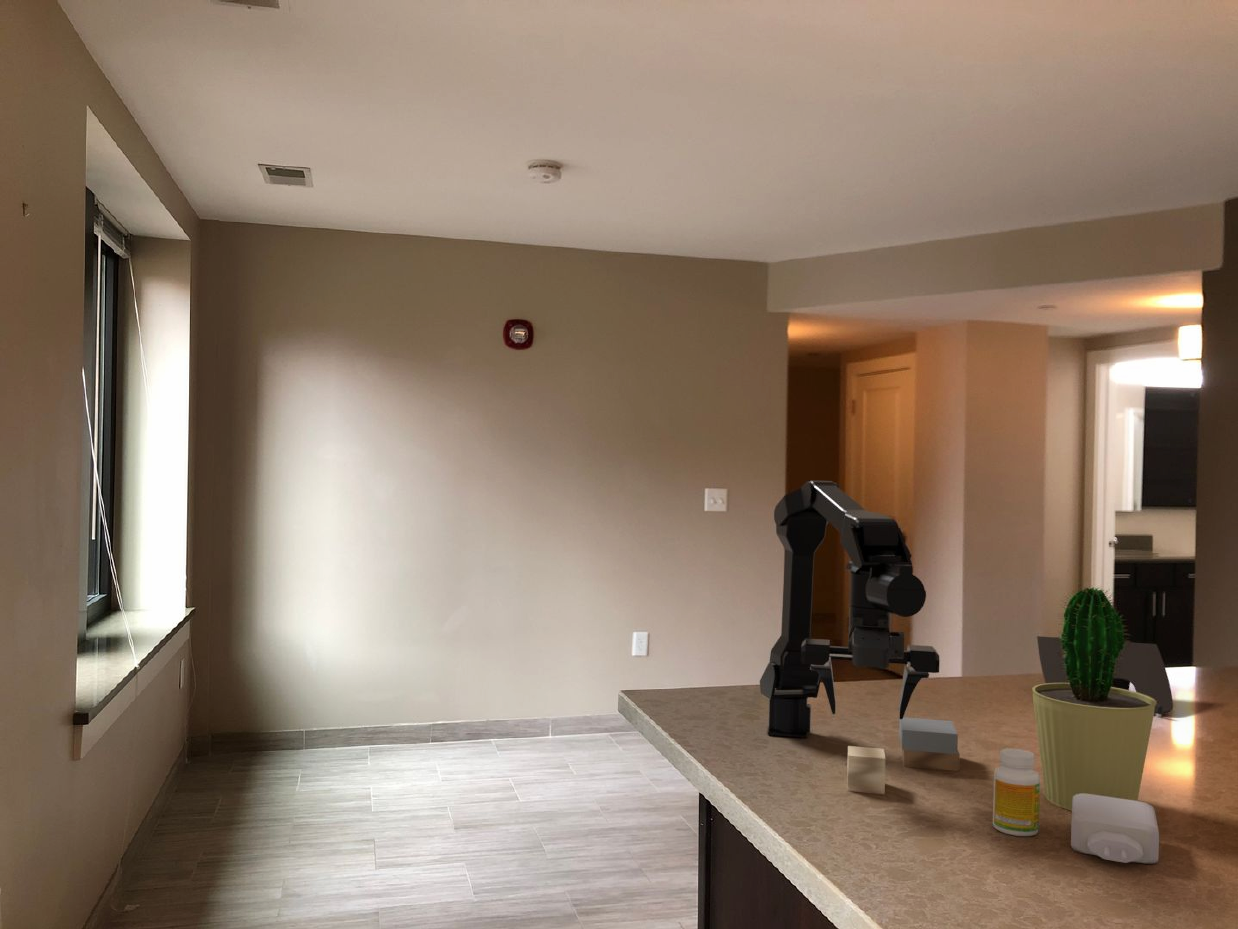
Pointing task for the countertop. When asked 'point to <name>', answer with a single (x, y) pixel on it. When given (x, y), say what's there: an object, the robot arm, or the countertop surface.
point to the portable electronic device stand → (1137, 668)
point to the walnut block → (930, 760)
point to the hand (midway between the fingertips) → (867, 716)
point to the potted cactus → (1091, 710)
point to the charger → (1114, 829)
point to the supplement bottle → (1016, 794)
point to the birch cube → (866, 770)
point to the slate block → (928, 735)
